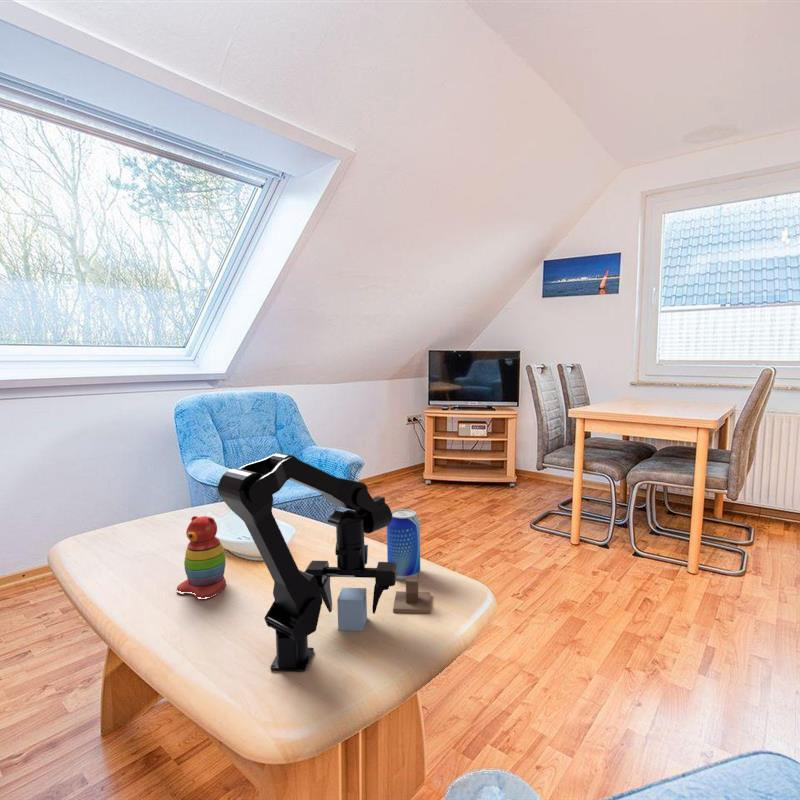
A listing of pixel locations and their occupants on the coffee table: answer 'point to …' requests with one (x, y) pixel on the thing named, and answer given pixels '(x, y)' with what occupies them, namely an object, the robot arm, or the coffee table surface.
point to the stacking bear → (203, 559)
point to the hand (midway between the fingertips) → (352, 612)
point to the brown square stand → (412, 598)
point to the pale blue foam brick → (352, 609)
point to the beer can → (404, 543)
